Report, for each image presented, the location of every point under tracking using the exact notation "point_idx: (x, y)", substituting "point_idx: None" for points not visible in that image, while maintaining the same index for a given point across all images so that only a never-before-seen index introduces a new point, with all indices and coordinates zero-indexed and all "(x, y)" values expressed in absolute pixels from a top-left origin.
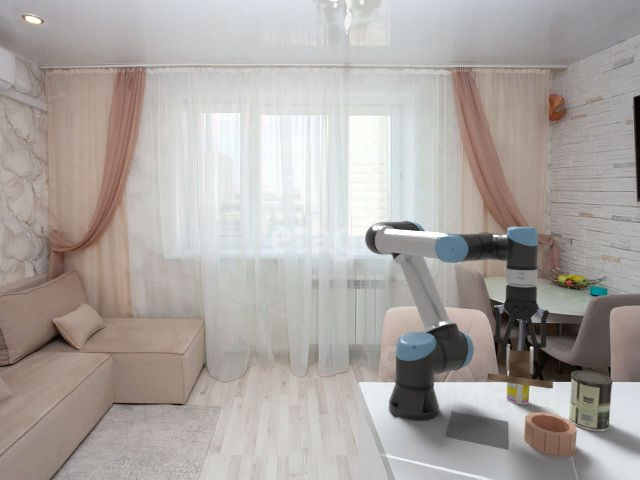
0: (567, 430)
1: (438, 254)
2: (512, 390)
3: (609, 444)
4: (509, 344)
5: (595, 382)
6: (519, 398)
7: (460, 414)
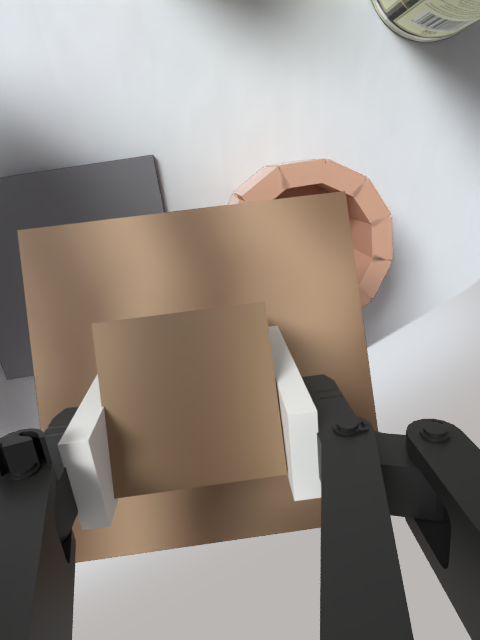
0: (359, 218)
1: None
2: None
3: (469, 123)
4: (85, 450)
5: None
6: None
7: None
